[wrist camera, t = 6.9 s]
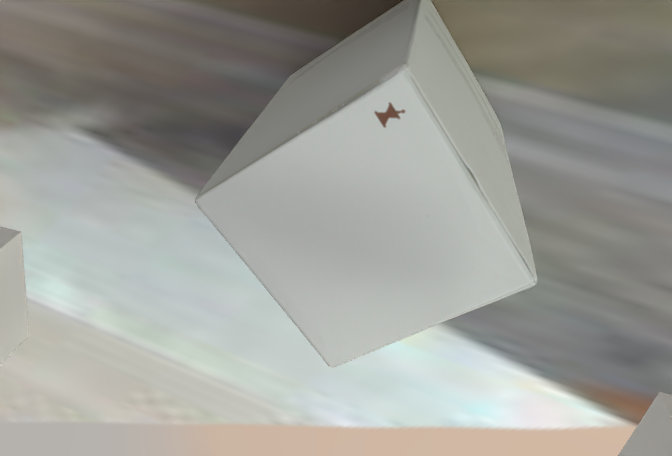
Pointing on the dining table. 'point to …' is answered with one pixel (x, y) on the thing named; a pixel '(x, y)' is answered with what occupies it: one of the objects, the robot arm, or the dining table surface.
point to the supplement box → (376, 190)
